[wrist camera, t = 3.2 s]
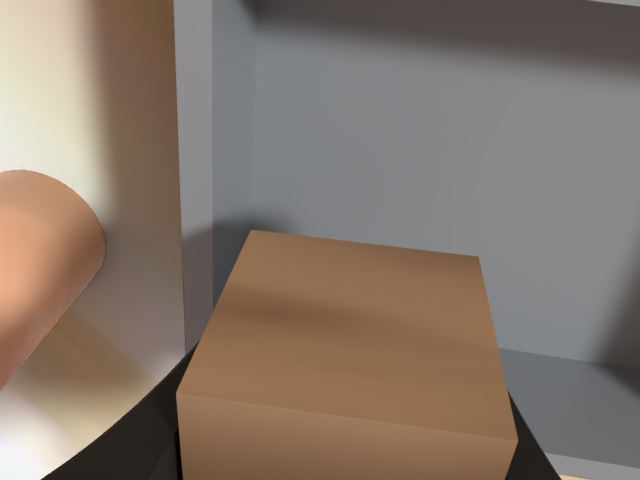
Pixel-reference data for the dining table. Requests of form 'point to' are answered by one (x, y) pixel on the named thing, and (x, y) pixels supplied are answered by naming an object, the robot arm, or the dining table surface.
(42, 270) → the terracotta cylinder
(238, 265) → the walnut cube
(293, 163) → the tote
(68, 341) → the dining table surface
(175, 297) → the dining table surface
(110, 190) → the dining table surface
